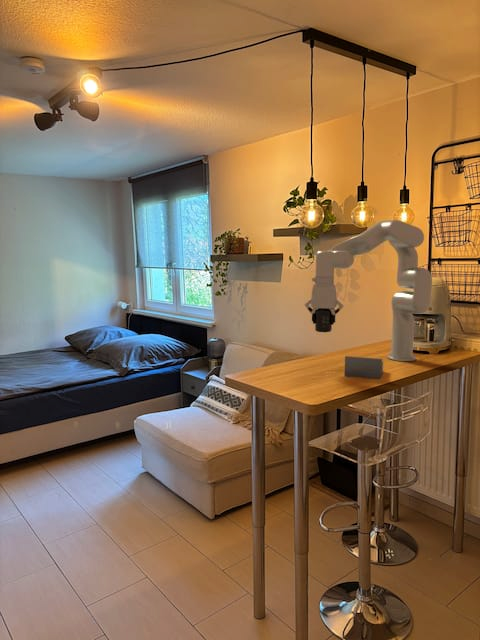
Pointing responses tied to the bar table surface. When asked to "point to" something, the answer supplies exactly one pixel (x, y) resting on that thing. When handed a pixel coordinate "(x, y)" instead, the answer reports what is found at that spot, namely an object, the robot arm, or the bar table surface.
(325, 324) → the supplement bottle
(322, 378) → the bar table surface
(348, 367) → the shelf block
